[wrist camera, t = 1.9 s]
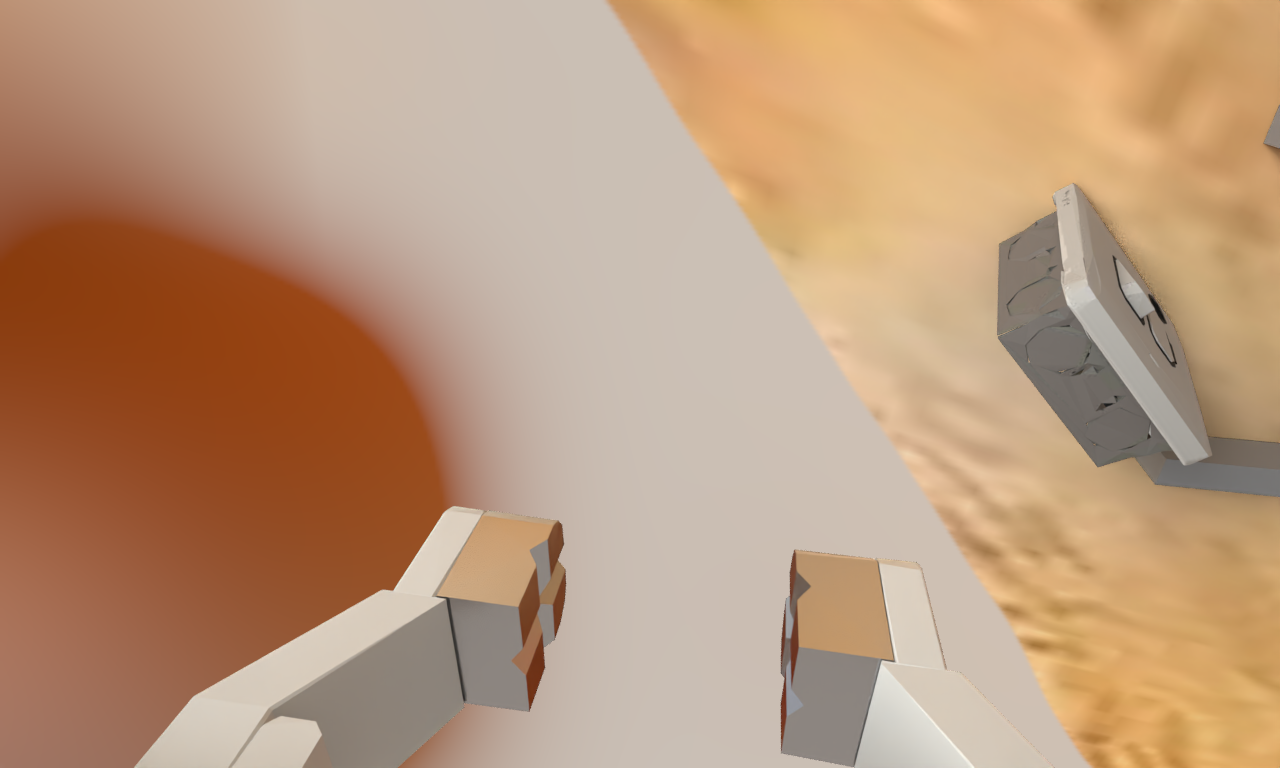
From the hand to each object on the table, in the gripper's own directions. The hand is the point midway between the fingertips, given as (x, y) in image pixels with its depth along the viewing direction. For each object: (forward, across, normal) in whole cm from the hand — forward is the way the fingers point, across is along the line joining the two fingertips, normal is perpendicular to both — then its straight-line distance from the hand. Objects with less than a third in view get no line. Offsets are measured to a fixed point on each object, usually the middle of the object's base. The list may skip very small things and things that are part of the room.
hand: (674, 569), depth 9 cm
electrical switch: (+27, -15, +6) cm, 32 cm away
